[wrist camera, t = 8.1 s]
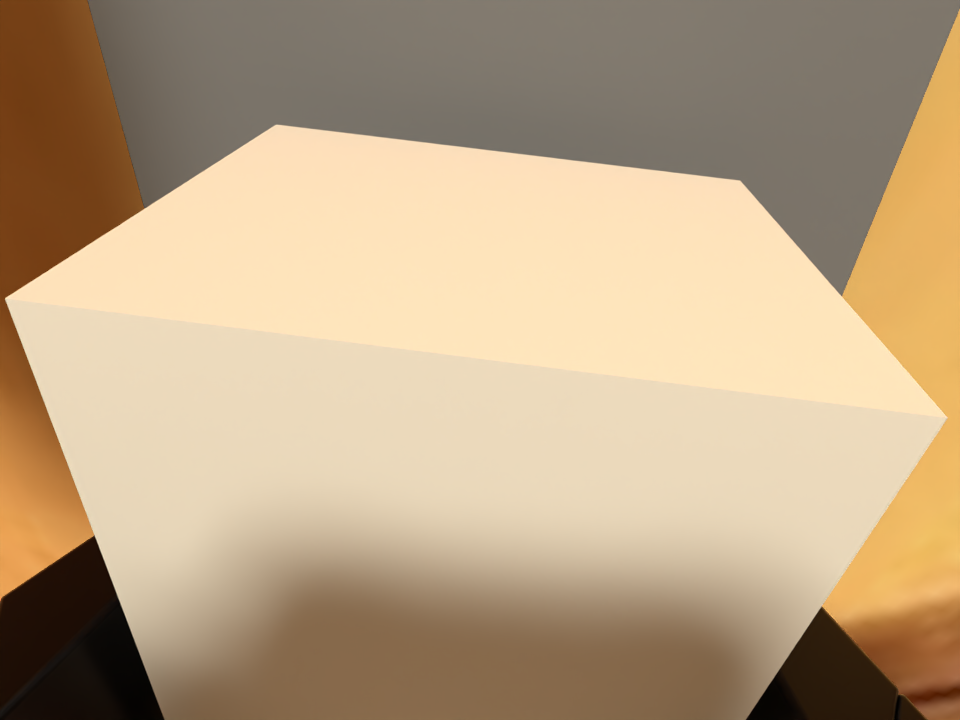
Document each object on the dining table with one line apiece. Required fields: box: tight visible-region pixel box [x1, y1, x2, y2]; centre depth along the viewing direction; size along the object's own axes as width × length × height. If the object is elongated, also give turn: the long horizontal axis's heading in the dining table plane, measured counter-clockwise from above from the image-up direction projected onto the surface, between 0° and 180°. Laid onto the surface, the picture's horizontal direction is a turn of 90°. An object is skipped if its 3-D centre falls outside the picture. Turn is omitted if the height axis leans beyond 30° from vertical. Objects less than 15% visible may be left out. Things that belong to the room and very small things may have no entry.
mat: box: [88, 0, 960, 296], centre depth 11 cm, size 14×11×1 cm
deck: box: [5, 125, 947, 720], centre depth 8 cm, size 6×9×5 cm, turn 175°
